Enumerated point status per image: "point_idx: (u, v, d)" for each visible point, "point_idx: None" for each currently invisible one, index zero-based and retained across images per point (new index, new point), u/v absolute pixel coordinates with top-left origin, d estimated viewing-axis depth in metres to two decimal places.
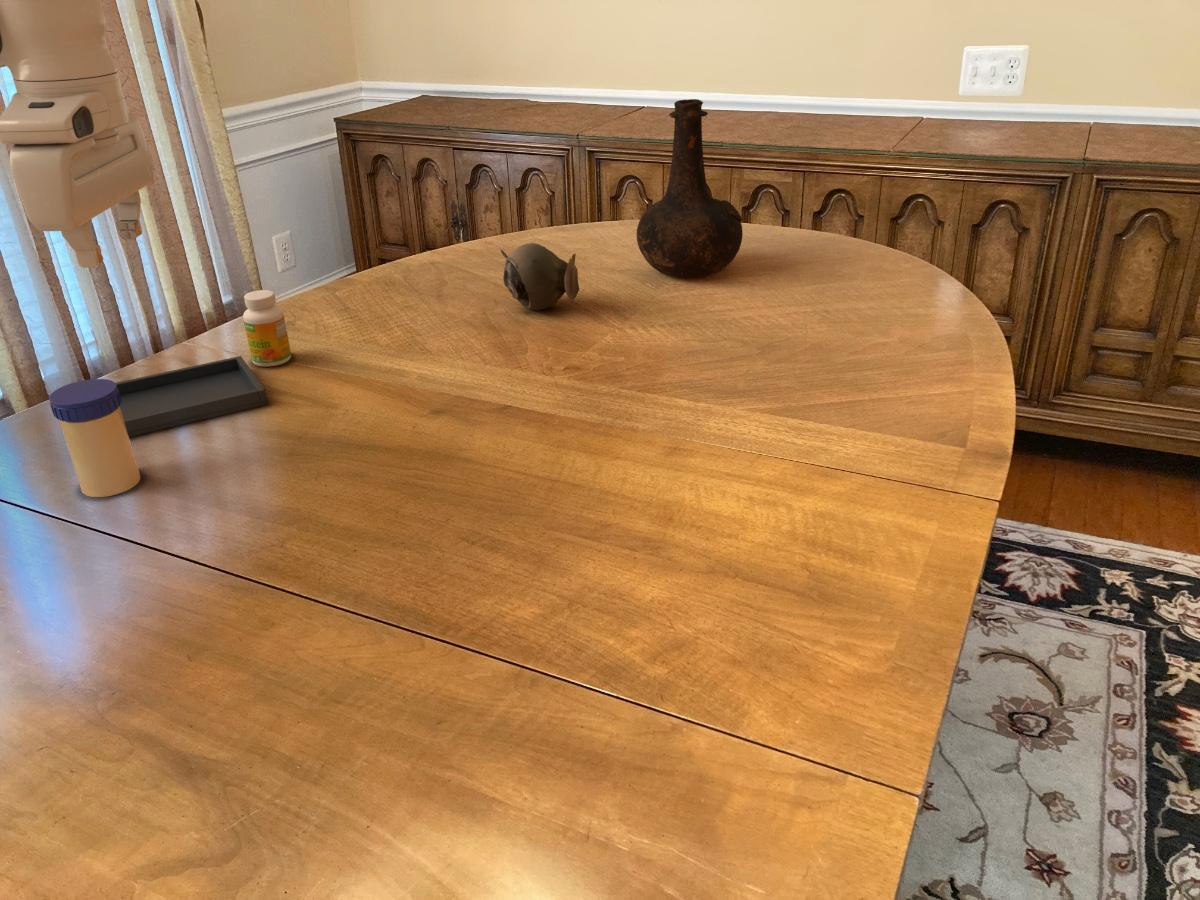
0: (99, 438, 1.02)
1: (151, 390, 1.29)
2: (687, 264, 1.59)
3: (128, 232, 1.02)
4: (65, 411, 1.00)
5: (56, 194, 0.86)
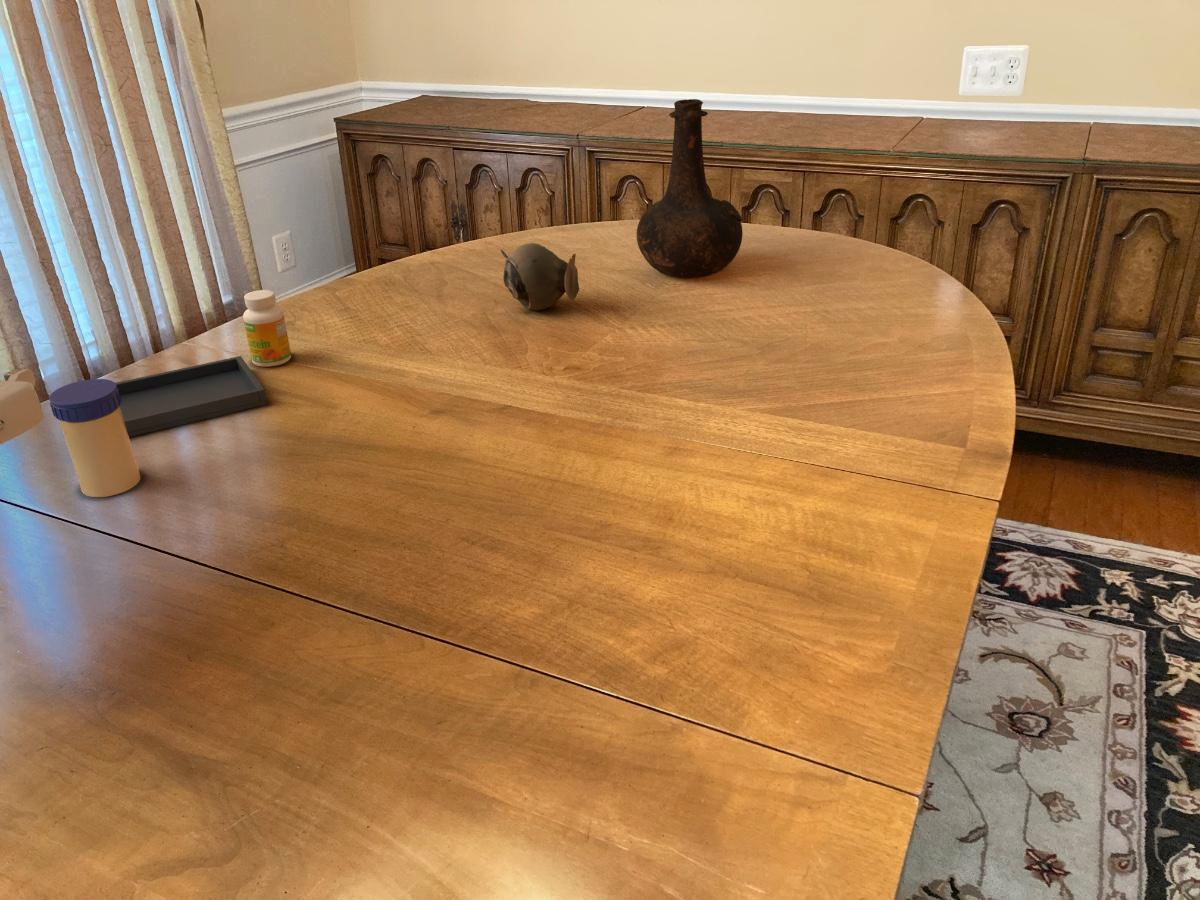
0: (99, 438, 1.02)
1: (151, 390, 1.29)
2: (687, 264, 1.59)
3: None
4: (65, 411, 1.00)
5: None
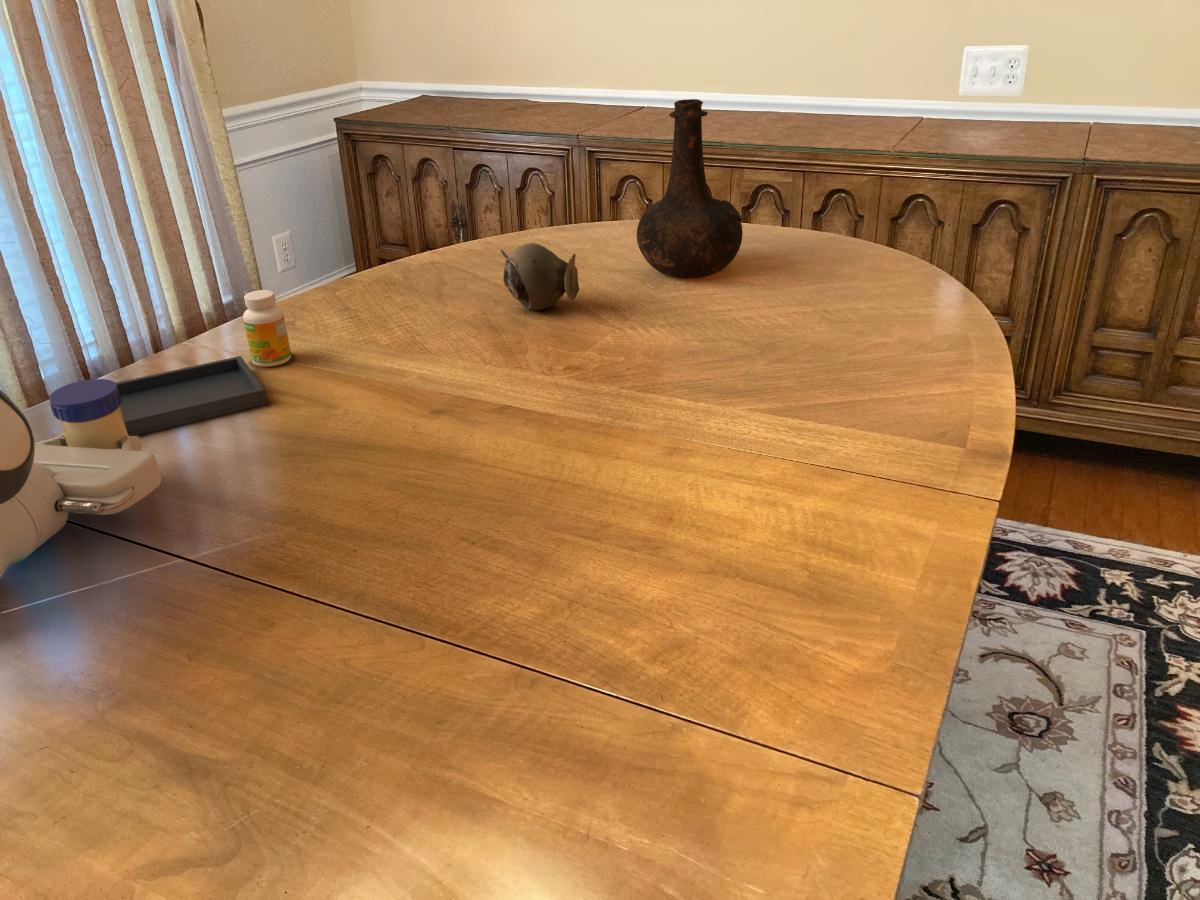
0: (100, 438, 1.02)
1: (151, 390, 1.29)
2: (687, 264, 1.59)
3: None
4: (65, 411, 1.00)
5: None
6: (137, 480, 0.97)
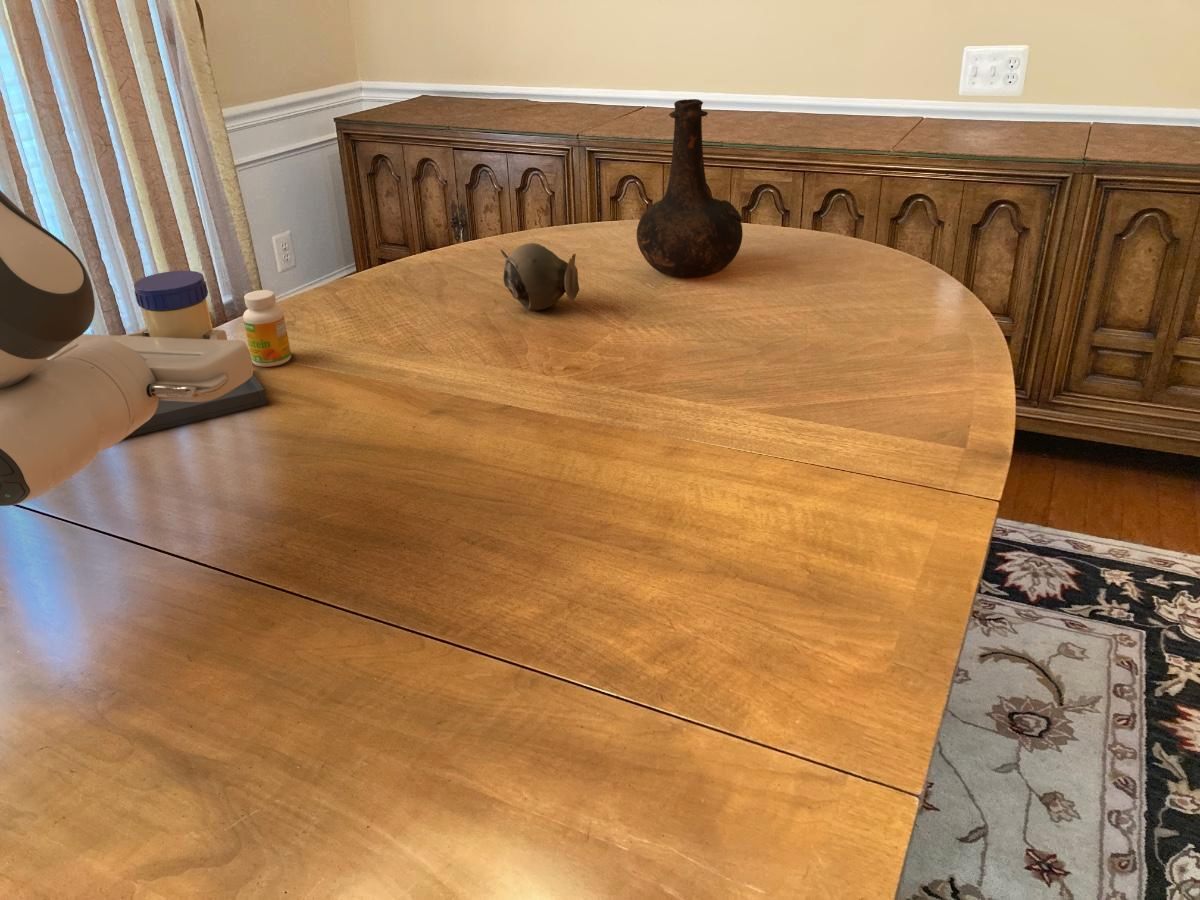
0: (186, 329, 0.97)
1: None
2: (687, 264, 1.59)
3: None
4: (151, 298, 0.94)
5: None
6: (231, 367, 0.91)
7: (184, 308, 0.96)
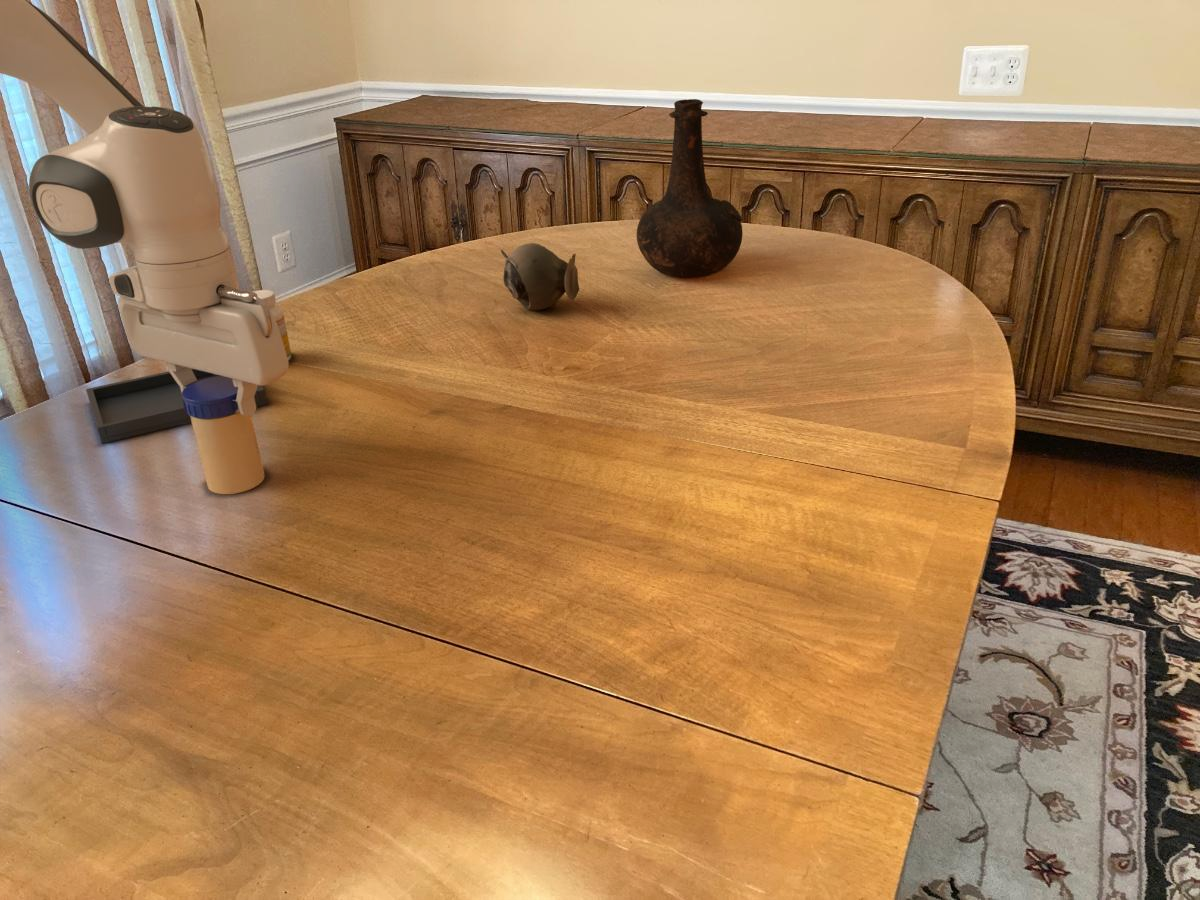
0: (231, 435, 1.02)
1: (151, 390, 1.29)
2: (687, 264, 1.59)
3: None
4: (199, 408, 1.00)
5: None
6: (274, 342, 0.95)
7: (229, 415, 1.01)
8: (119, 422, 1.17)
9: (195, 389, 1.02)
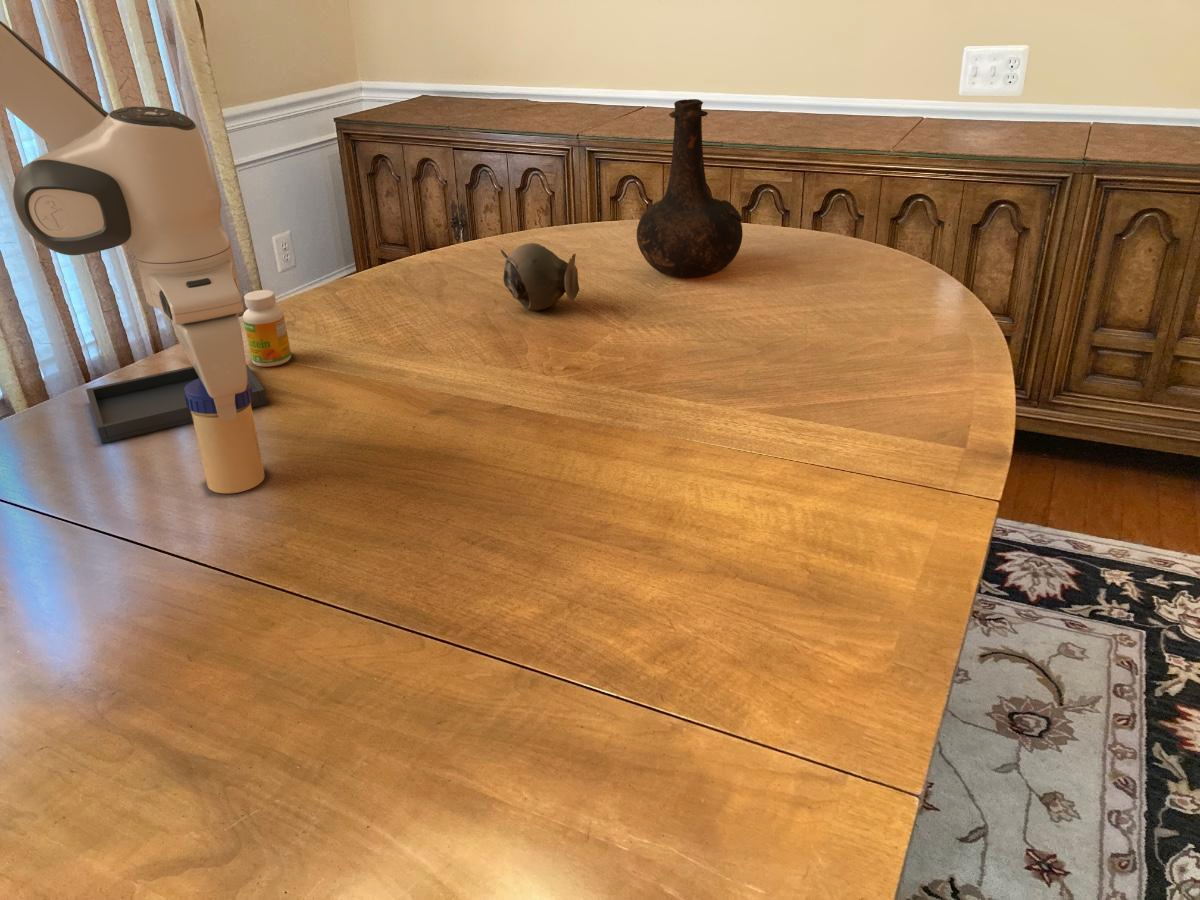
0: (232, 434, 1.02)
1: (151, 390, 1.29)
2: (687, 264, 1.59)
3: None
4: None
5: (237, 361, 0.93)
6: None
7: None
8: (119, 422, 1.17)
9: None
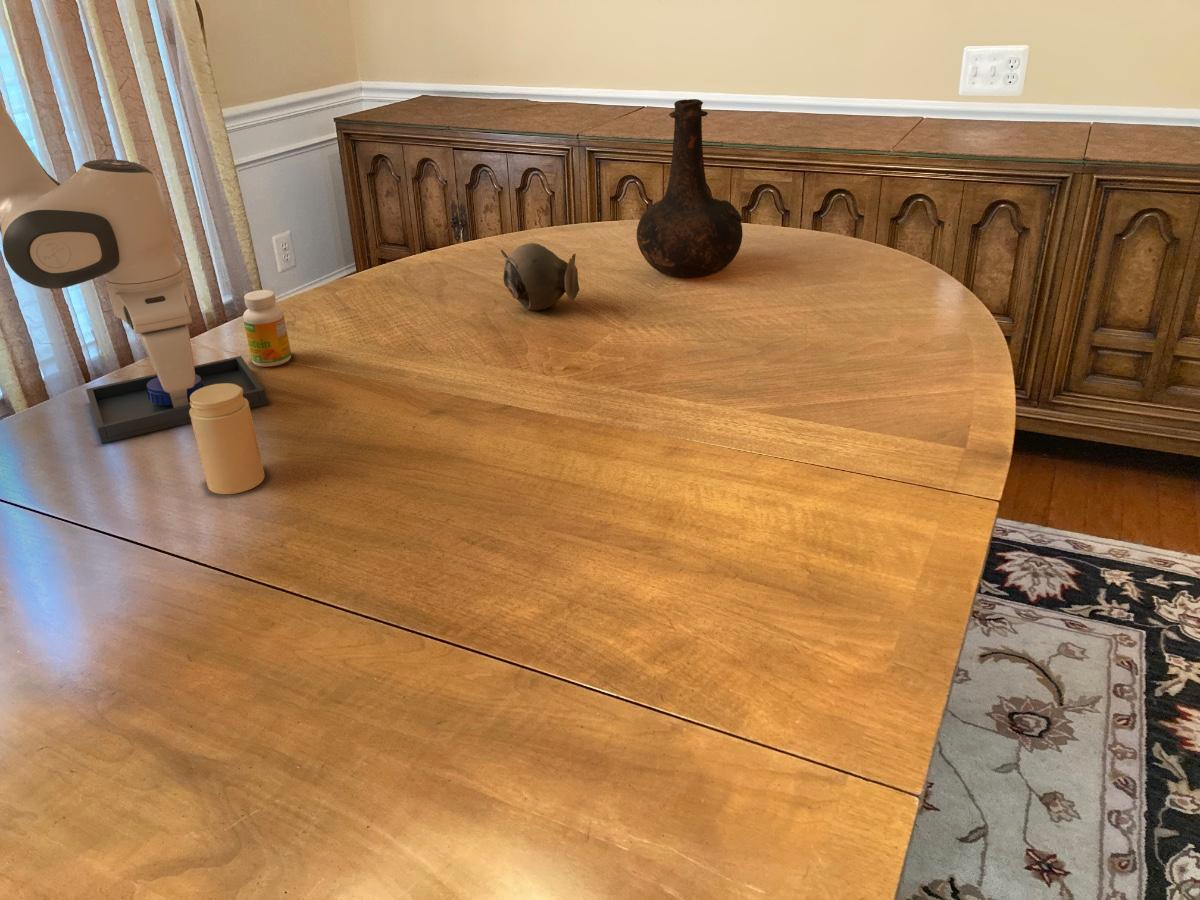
0: (231, 435, 1.02)
1: None
2: (687, 264, 1.59)
3: None
4: None
5: (186, 363, 1.15)
6: None
7: (229, 415, 1.01)
8: (119, 422, 1.17)
9: None
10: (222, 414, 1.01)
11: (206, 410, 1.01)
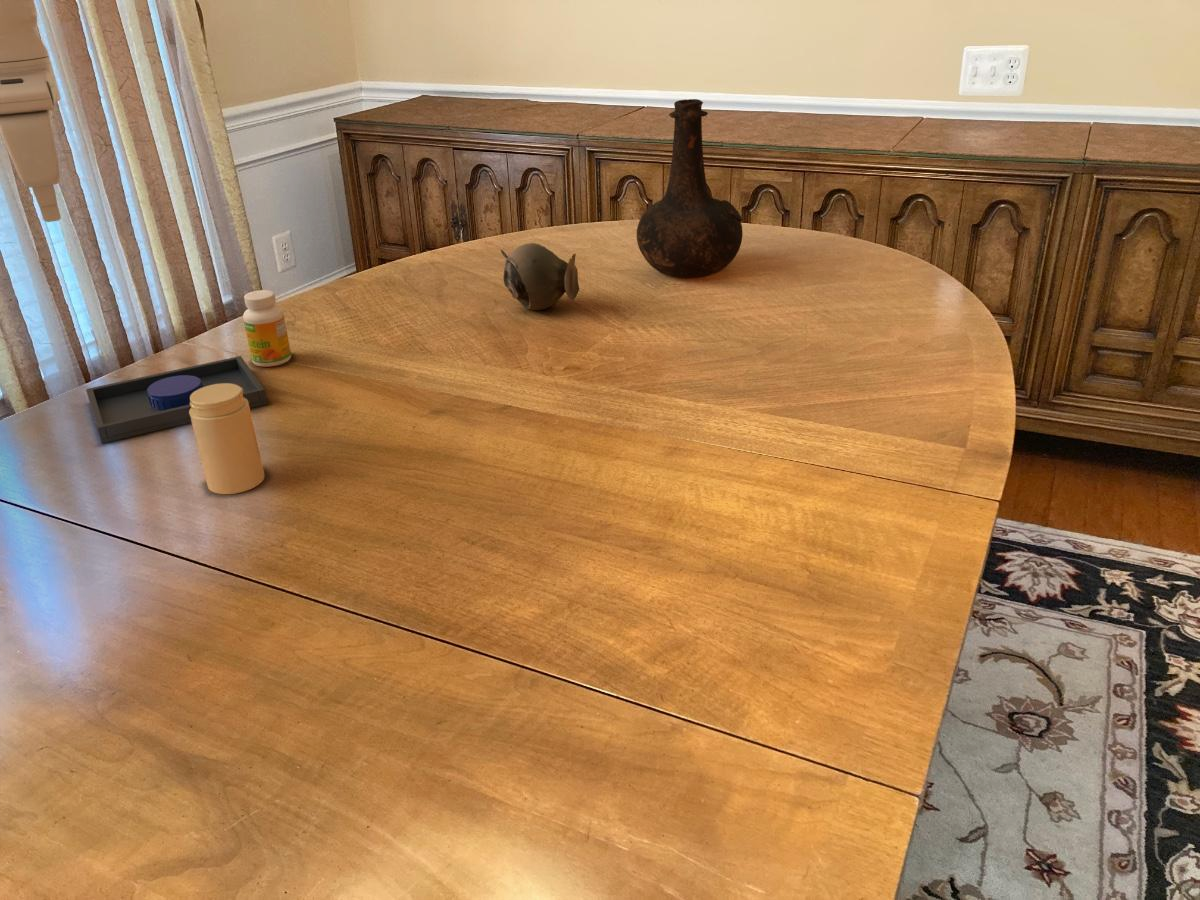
0: (231, 435, 1.02)
1: None
2: (687, 264, 1.59)
3: None
4: None
5: (47, 152, 1.04)
6: None
7: (229, 415, 1.01)
8: (119, 422, 1.17)
9: (185, 387, 1.24)
10: (222, 414, 1.01)
11: (206, 410, 1.01)
